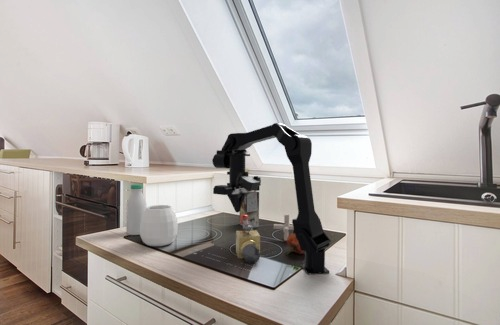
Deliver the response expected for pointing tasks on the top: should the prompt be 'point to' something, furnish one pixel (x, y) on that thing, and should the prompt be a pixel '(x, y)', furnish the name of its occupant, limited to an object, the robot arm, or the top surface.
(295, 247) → the pomegranate
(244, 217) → the lever
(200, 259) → the top surface
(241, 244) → the valve
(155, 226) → the white faceted vase
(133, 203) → the milk bottle
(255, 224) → the coffee box
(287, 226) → the pipe connector
